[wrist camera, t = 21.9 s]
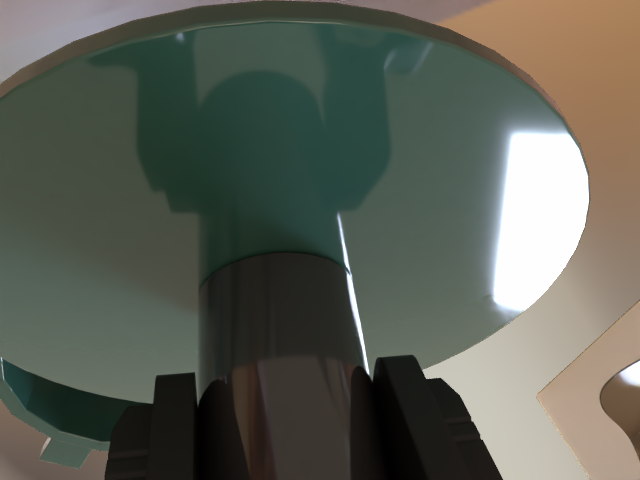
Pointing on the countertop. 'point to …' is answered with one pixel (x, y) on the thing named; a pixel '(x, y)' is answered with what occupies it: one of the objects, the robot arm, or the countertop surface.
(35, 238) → the pot lid
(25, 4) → the countertop surface
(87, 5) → the countertop surface
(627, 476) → the gable box
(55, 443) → the pot
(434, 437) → the robot arm
